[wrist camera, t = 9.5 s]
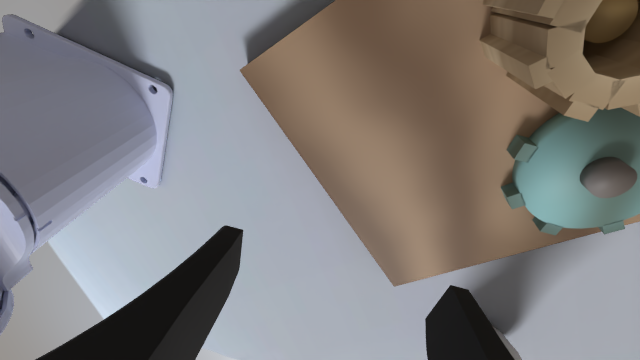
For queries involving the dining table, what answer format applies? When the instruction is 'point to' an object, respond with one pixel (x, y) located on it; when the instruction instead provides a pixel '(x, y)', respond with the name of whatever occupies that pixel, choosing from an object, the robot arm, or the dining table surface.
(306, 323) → the dining table surface
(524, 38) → the wooden gear
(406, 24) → the gear board
